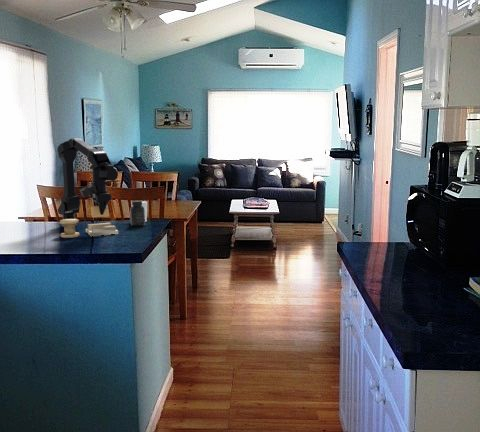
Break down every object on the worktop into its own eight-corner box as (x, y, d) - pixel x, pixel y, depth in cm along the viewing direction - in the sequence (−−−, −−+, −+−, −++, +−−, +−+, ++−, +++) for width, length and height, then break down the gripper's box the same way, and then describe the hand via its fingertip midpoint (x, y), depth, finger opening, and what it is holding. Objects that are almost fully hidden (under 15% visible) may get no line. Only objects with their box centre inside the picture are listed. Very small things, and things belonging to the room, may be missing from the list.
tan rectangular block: (91, 216, 252) (90, 206, 251) (106, 215, 255) (106, 205, 254) (92, 217, 249) (92, 207, 248) (108, 216, 252) (108, 206, 251)
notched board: (85, 232, 256) (85, 224, 255) (111, 229, 261) (111, 222, 261) (91, 236, 245) (90, 228, 245) (118, 234, 251) (118, 226, 250)
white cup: (132, 220, 286) (132, 201, 284) (148, 220, 287) (147, 200, 285) (131, 223, 278) (130, 203, 277) (147, 222, 279) (146, 203, 277)
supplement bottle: (146, 224, 275) (145, 200, 273) (142, 226, 268) (142, 202, 266) (133, 224, 276) (132, 200, 274) (129, 226, 269) (128, 201, 267)
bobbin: (59, 235, 249) (58, 219, 248) (77, 233, 253) (76, 218, 251) (62, 238, 242) (61, 222, 241) (81, 236, 245) (80, 221, 244)
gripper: (76, 178, 254) (78, 212, 257) (85, 182, 238) (86, 218, 240) (101, 177, 259) (102, 210, 262) (111, 181, 243) (112, 216, 245)
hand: (100, 214), depth 252 cm, fingers closed on tan rectangular block, 3 cm apart
